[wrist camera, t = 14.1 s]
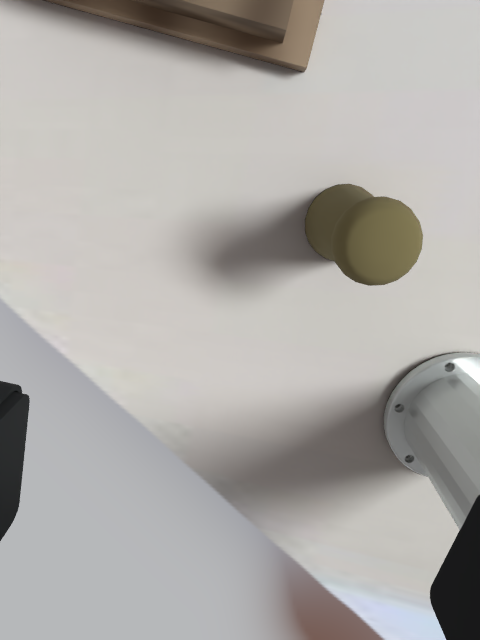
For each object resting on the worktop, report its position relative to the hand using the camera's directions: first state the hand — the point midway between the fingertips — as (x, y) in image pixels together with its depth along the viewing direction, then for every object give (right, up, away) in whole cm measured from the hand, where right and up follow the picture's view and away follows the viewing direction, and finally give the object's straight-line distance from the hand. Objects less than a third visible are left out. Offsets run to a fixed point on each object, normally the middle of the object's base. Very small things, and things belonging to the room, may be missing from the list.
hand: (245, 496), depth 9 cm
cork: (+8, +11, +26) cm, 30 cm away
